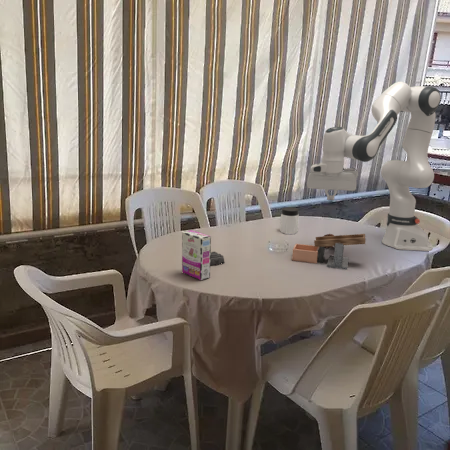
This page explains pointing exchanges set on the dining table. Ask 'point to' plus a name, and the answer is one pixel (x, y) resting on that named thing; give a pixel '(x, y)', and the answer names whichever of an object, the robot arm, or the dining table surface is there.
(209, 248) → the candy bar box
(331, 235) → the pottery mug
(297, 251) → the pink open box
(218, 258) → the tank toy
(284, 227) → the jar
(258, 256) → the dining table surface
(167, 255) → the dining table surface
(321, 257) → the stand
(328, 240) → the brown wooden tray
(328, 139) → the robot arm
